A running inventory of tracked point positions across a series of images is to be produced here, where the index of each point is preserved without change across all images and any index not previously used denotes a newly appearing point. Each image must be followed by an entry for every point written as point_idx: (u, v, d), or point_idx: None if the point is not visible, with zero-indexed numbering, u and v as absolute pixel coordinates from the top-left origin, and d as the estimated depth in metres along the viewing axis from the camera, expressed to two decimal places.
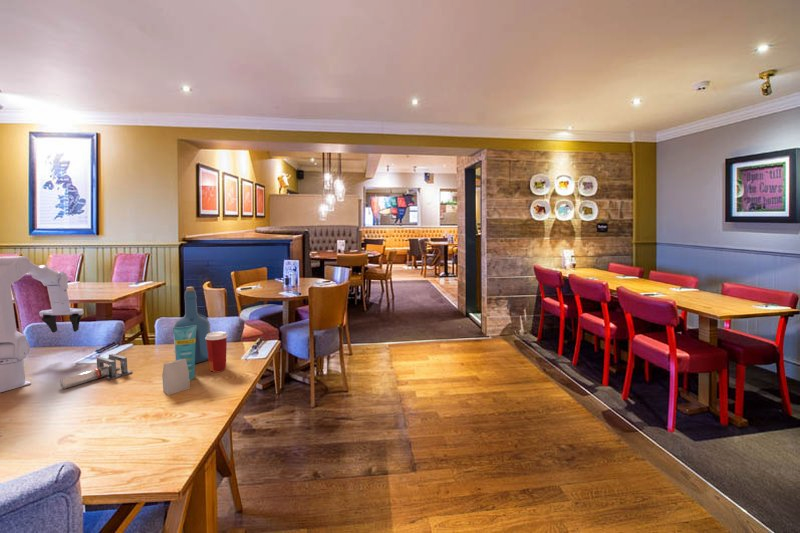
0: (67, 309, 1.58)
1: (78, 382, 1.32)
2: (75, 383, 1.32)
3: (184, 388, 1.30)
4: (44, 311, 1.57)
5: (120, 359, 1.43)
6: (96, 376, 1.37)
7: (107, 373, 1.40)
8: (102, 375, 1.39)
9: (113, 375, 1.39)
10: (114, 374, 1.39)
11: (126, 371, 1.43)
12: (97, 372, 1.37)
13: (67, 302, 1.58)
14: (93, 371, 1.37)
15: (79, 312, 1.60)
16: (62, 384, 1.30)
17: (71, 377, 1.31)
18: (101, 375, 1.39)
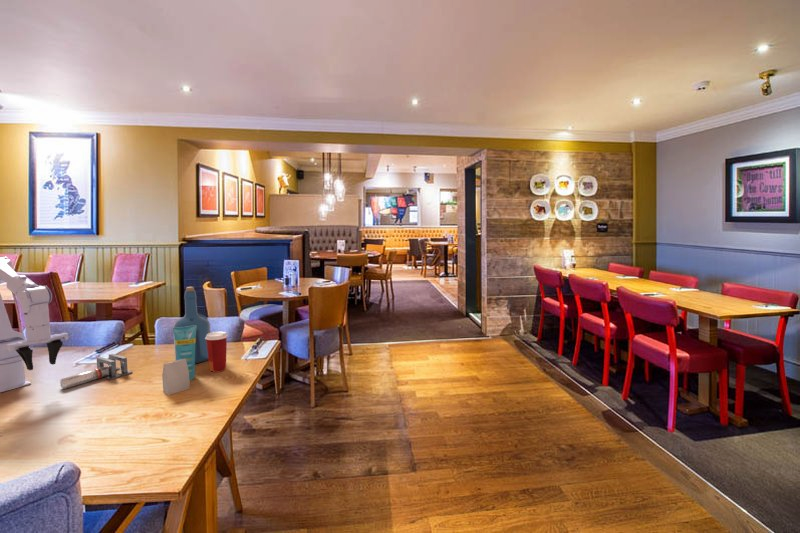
0: (26, 338, 1.22)
1: (78, 382, 1.32)
2: (75, 383, 1.32)
3: (184, 388, 1.30)
4: (60, 334, 1.29)
5: (120, 359, 1.43)
6: (96, 377, 1.37)
7: (107, 373, 1.40)
8: (102, 375, 1.39)
9: (113, 375, 1.39)
10: (114, 374, 1.39)
11: (126, 371, 1.43)
12: (97, 372, 1.37)
13: (26, 329, 1.21)
14: (93, 371, 1.37)
15: None
16: (62, 384, 1.30)
17: (71, 377, 1.31)
18: (101, 376, 1.39)
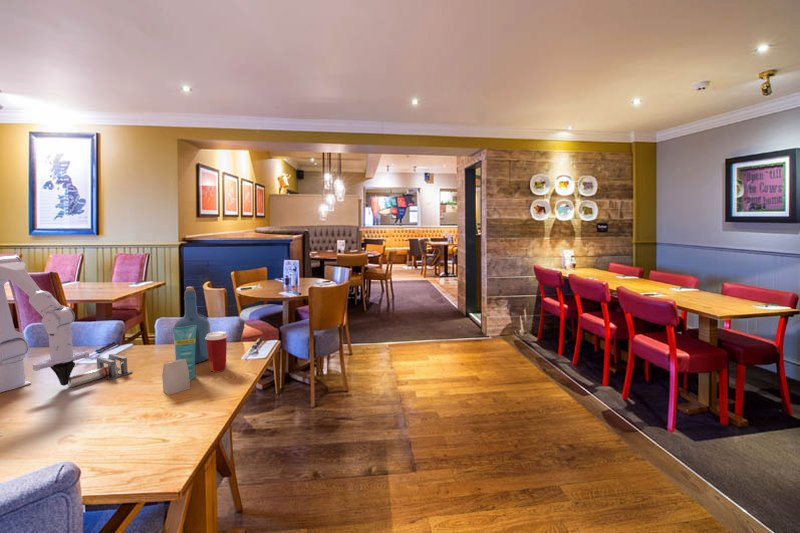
0: (50, 357, 1.27)
1: (84, 382, 1.34)
2: (81, 383, 1.33)
3: (184, 388, 1.30)
4: (82, 353, 1.34)
5: (120, 359, 1.43)
6: (102, 376, 1.39)
7: None
8: (108, 375, 1.40)
9: (113, 375, 1.39)
10: (114, 374, 1.39)
11: (126, 371, 1.43)
12: (103, 372, 1.39)
13: (50, 349, 1.27)
14: (100, 371, 1.38)
15: None
16: (69, 382, 1.31)
17: (79, 377, 1.32)
18: (107, 375, 1.40)
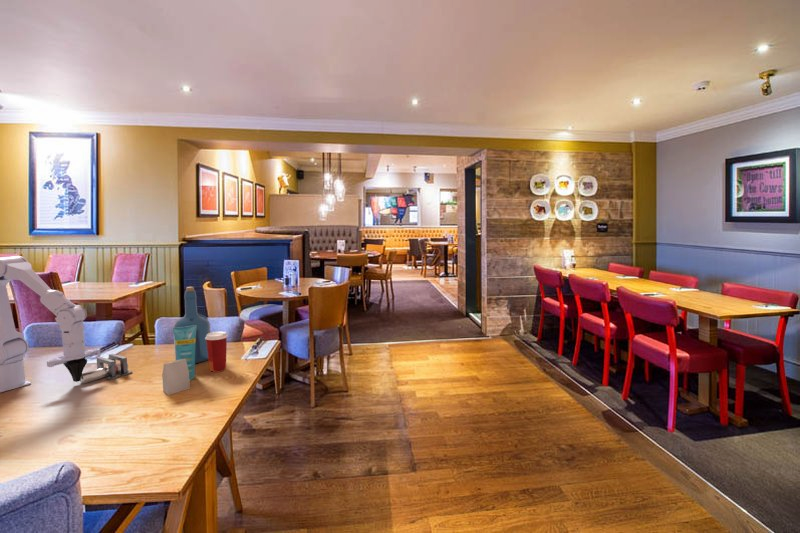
0: None
1: (96, 378, 1.37)
2: (93, 379, 1.36)
3: (184, 388, 1.30)
4: (93, 350, 1.38)
5: (120, 359, 1.43)
6: None
7: None
8: (118, 372, 1.43)
9: (113, 375, 1.39)
10: (114, 374, 1.39)
11: (126, 371, 1.43)
12: None
13: (63, 347, 1.30)
14: None
15: None
16: (81, 379, 1.34)
17: (90, 373, 1.35)
18: (118, 372, 1.43)
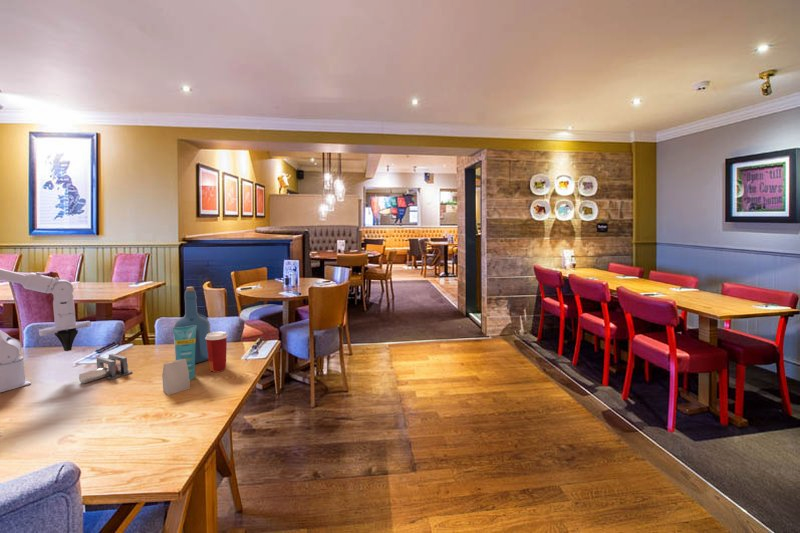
0: (55, 325, 1.38)
1: (96, 378, 1.37)
2: (93, 379, 1.36)
3: (184, 388, 1.30)
4: (84, 322, 1.45)
5: (120, 359, 1.43)
6: None
7: None
8: (118, 372, 1.43)
9: (113, 375, 1.39)
10: (114, 374, 1.39)
11: (126, 371, 1.43)
12: None
13: (54, 317, 1.37)
14: None
15: None
16: (81, 379, 1.34)
17: (90, 373, 1.36)
18: (118, 372, 1.43)
